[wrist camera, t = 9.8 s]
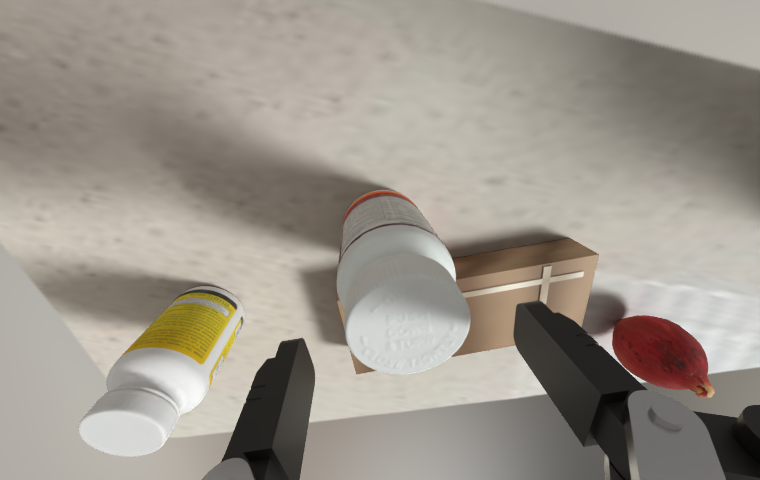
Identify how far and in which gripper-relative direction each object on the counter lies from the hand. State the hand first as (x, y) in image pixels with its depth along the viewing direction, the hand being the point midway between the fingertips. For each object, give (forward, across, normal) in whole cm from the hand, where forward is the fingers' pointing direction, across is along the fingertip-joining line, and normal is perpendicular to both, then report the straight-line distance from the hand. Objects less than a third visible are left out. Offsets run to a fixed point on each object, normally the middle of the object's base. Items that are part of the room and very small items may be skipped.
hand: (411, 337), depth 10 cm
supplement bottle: (+12, +15, +5) cm, 20 cm away
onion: (+12, -23, +15) cm, 30 cm away
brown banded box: (+12, -6, +8) cm, 15 cm away
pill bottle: (+12, 0, 0) cm, 12 cm away
